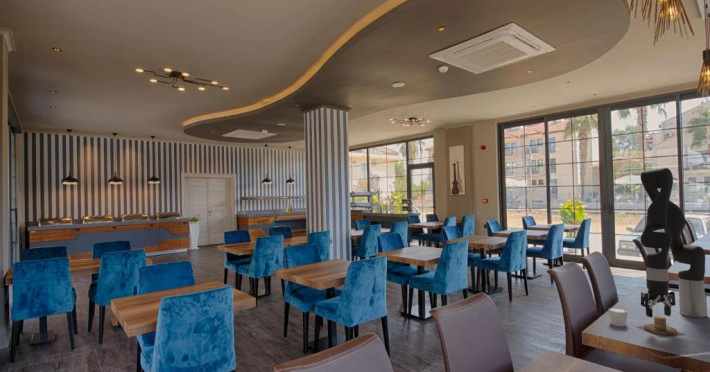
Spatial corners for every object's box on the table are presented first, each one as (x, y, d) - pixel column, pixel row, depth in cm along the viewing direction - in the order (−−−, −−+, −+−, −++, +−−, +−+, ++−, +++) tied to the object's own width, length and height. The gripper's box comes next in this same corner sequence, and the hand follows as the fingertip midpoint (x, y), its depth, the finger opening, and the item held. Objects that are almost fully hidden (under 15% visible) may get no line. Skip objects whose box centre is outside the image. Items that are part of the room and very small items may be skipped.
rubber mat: (660, 326, 169) (659, 324, 169) (686, 336, 157) (686, 334, 157) (635, 328, 167) (635, 326, 167) (661, 339, 155) (661, 337, 155)
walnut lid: (659, 325, 168) (659, 312, 168) (684, 334, 157) (683, 321, 157) (637, 327, 167) (637, 314, 167) (661, 336, 156) (660, 323, 156)
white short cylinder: (610, 321, 177) (609, 306, 177) (628, 324, 172) (627, 309, 172) (608, 326, 171) (607, 310, 171) (627, 329, 167) (626, 313, 167)
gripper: (664, 275, 167) (665, 312, 167) (634, 277, 165) (636, 314, 165) (680, 279, 160) (681, 318, 160) (650, 281, 158) (651, 320, 158)
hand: (658, 316), depth 162 cm, fingers open, 8 cm apart
